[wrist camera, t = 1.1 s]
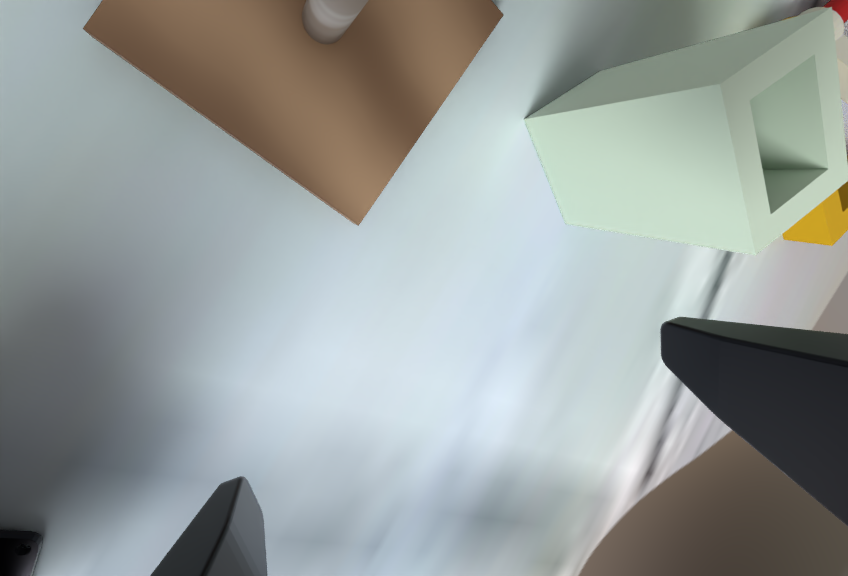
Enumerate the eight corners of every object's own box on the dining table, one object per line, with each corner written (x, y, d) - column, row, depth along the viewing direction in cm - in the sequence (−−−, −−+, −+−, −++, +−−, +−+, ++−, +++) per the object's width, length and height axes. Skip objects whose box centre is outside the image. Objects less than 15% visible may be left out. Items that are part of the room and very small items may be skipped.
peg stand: (353, 223, 20) (385, 238, 16) (92, 37, 15) (30, -19, 11) (492, 21, 20) (563, -21, 16) (276, -225, 16) (290, -386, 11)
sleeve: (565, 224, 24) (755, 255, 15) (524, 119, 22) (719, 83, 13) (632, 176, 25) (849, 179, 16) (599, 70, 23) (831, 6, 14)
